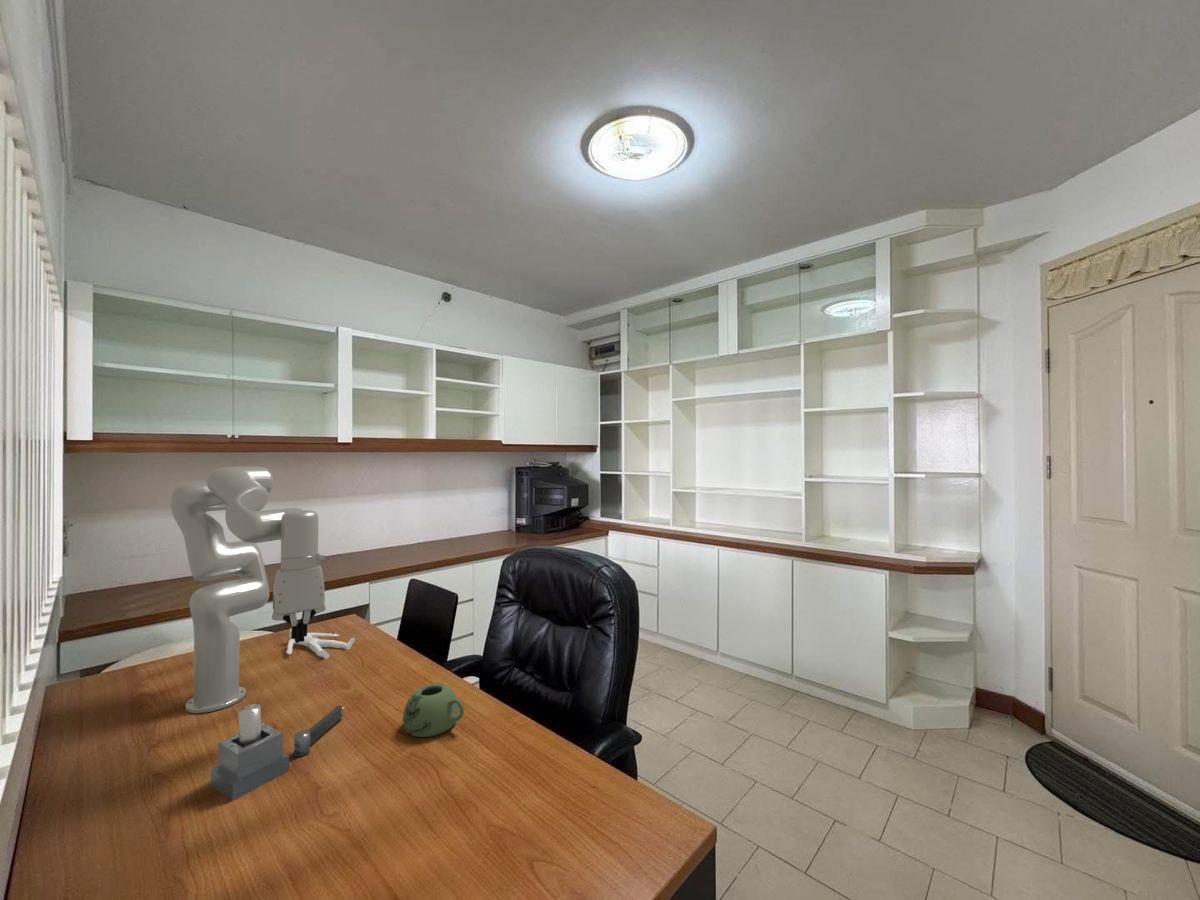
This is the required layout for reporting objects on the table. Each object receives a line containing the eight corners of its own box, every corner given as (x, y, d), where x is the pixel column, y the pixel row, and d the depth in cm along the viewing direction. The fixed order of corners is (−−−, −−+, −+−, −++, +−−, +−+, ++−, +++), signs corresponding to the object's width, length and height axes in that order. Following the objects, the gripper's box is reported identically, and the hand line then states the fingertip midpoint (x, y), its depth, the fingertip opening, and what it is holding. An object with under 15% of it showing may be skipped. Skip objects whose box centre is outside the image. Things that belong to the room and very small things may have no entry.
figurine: (310, 671, 148) (262, 648, 158) (361, 649, 165) (314, 629, 175) (312, 654, 148) (263, 632, 158) (363, 634, 165) (316, 615, 175)
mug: (390, 734, 110) (390, 697, 110) (429, 707, 122) (429, 674, 122) (444, 749, 104) (444, 710, 104) (480, 719, 116) (480, 684, 116)
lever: (338, 715, 118) (338, 699, 118) (349, 716, 117) (349, 700, 118) (290, 756, 102) (290, 737, 102) (303, 756, 101) (303, 738, 101)
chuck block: (210, 785, 93) (211, 744, 93) (266, 757, 102) (266, 720, 102) (232, 800, 89) (233, 758, 89) (288, 770, 97) (289, 731, 97)
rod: (235, 765, 94) (234, 711, 94) (254, 755, 97) (254, 702, 97) (245, 770, 93) (245, 715, 93) (264, 759, 96) (264, 706, 96)
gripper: (331, 556, 119) (331, 628, 118) (259, 565, 109) (258, 644, 108) (338, 560, 113) (338, 637, 112) (262, 570, 103) (262, 654, 103)
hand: (299, 640), depth 110 cm, fingers closed
